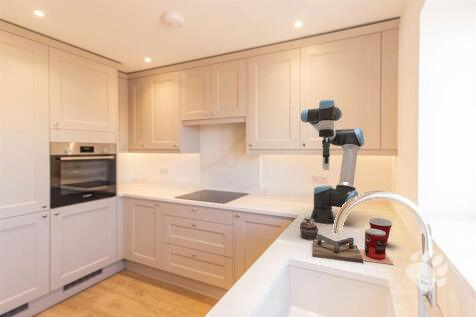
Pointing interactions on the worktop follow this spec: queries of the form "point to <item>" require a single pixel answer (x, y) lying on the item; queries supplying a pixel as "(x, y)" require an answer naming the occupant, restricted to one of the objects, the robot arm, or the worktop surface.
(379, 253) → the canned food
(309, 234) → the cupcake
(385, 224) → the plastic cup
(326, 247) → the wire board
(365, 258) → the mat
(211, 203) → the worktop surface
